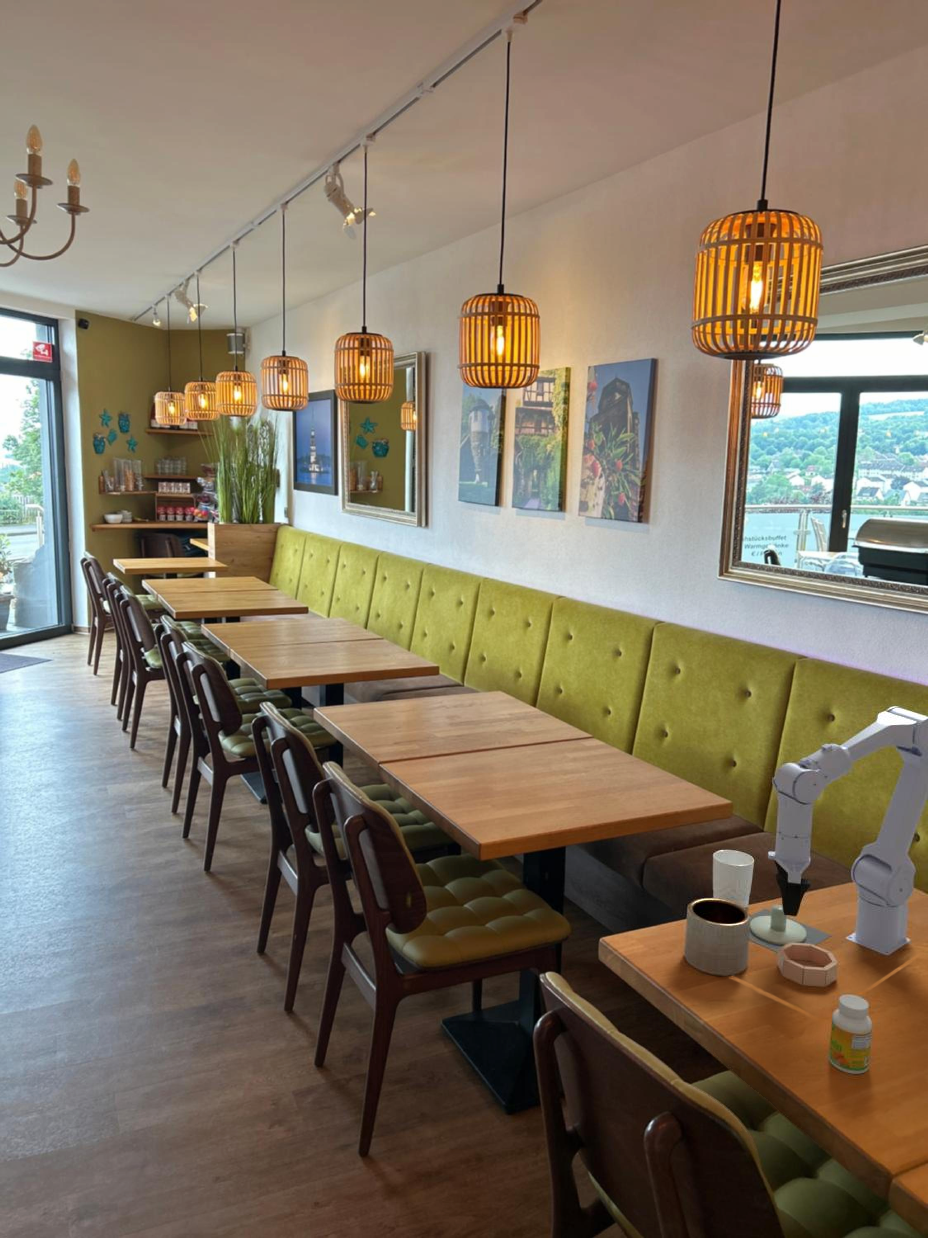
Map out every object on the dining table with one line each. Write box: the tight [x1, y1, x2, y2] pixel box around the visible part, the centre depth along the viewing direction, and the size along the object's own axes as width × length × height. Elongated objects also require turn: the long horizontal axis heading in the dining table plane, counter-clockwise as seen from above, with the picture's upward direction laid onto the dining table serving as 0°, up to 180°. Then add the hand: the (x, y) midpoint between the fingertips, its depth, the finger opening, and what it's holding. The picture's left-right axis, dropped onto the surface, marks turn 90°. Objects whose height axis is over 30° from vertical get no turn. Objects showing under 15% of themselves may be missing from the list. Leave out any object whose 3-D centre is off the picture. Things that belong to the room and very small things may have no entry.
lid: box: [750, 904, 806, 945], centre depth 170 cm, size 10×10×5 cm
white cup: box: [712, 849, 755, 909], centre depth 182 cm, size 8×8×10 cm
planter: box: [684, 897, 751, 977], centre depth 160 cm, size 11×11×10 cm
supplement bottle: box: [828, 993, 873, 1075], centre depth 131 cm, size 5×5×10 cm
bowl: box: [776, 942, 839, 987], centre depth 156 cm, size 9×9×4 cm
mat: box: [749, 908, 833, 954], centre depth 170 cm, size 14×14×1 cm
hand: (788, 905), depth 161 cm, fingers open, 7 cm apart
